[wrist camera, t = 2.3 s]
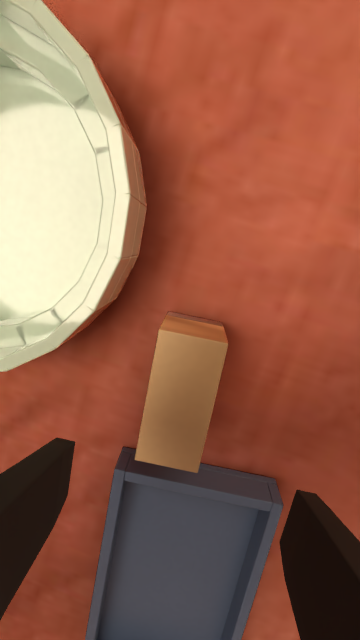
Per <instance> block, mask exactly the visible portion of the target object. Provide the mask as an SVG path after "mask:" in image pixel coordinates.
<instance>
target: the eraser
mask: <svg viewBox="0 0 360 640" xmlns="http://www.w3.org/2000/svg"><path fill="white" fill-rule="evenodd" d="M227 349H228V341H227V337H226V333H225V330H224V327H223V324H222V322H218V321H213V320H208V319H203V318H198V317H194V316H189V315H184V314H179V313H174V312H168V313H167V315H166V316H165V318H164V320H163V322H162V324H161V326H160V328H159V331H158V336H157V341H156V347H155V352H154V357H153V363H152V368H151V373H150V379H149V384H148V390H147V395H146V400H145V406H144V411H143V416H142V422H141V427H140V432H139V438H138V443H137V448H136V454H135V460H138V461H142V462H147V463H152V464H156V465H161V466H166V467H171V468H175V469H180V470H185V471H189V472H194V473H198V470H199V466H200V461H201V457H202V453H203V449H204V445H205V441H206V436H207V432H208V428H209V424H210V420H211V415H212V411H213V407H214V403H215V399H216V395H217V390H218V386H219V382H220V378H221V374H222V369H223V365H224V361H225V357H226V353H227Z"/></svg>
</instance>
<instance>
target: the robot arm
mask: <svg viewBox="0 0 360 640" xmlns="http://www.w3.org/2000/svg"><path fill="white" fill-rule="evenodd" d="M74 446H75V442H74V441H70V440H65V439H60V438H55V439H54V440H52V441H51V442H49V443H48V444H46V445H44V446H43V447H41V448H40V449H38V450H37V451H35V452H34V453H32V454H31V455H29V456H28V457H26V458H25V459H23V460H22V461H20V462H19V463H17V464H15V465H14V466H12V467H11V468H9V469H7V470H6V471H4V472H3V473H1V474H0V620H1V618H2V616H3V615H4V613H5V611H6V609H7V607H8V605H9V604H10V602H11V600H12V598H13V597H14V595H15V593H16V591H17V590H18V588H19V586H20V585H21V583H22V581H23V579H24V578H25V576H26V574H27V572H28V571H29V569H30V567H31V566H32V564H33V562H34V560H35V559H36V557H37V555H38V553H39V552H40V550H41V548H42V546H43V545H44V543H45V541H46V539H47V538H48V536H49V534H50V532H51V531H52V529H53V527H54V525H55V523H56V520H57V518H58V516H59V514H60V512H61V509H62V507H63V505H64V502H65V500H66V498H67V495H68V488H69V481H70V474H71V467H72V460H73V453H74ZM280 549H281V556H282V564H283V570H284V576H285V581H286V585H287V589H288V593H289V597H290V601H291V605H292V609H293V613H294V616H295V620H296V624H297V628H298V632H299V635H300V639H301V640H360V542H359V540H358V539H357V538H356V537H355V536H354V535H353V534H352V533H351V532H350V531H349V529H348V528H347V527H346V526H345V525H344V524H343V523H342V522H341V520H340V519H339V518H338V517H337V516H336V515H335V514H334V513H333V512H332V510H331V509H330V508H329V507H328V506H327V505H326V504H325V503H324V502H323V501H322V500H321V499H320V497H319V496H318V495H317V494H315V493H310V492H305V491H301V490H296V493H295V496H294V499H293V502H292V505H291V509H290V512H289V515H288V518H287V521H286V524H285V527H284V530H283V533H282V536H281V539H280Z"/></svg>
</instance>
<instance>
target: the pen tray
mask: <svg viewBox="0 0 360 640" xmlns="http://www.w3.org/2000/svg"><path fill="white" fill-rule="evenodd" d="M135 454H136V449H132V448H127V447H123V449H122V451H121V454H120V456H119V459H118V462H117V464H116V467H115V469H114V475H113V481H112V487H111V492H110V498H109V504H108V510H107V516H106V521H105V527H104V533H103V539H102V544H101V550H100V556H99V562H98V568H97V573H96V579H95V585H94V591H93V597H92V602H91V608H90V614H89V620H88V626H87V631H86V637H85V640H241V638H242V635H243V632H244V629H245V626H246V623H247V619H248V616H249V613H250V610H251V607H252V604H253V600H254V597H255V594H256V591H257V588H258V585H259V581H260V578H261V575H262V572H263V569H264V566H265V562H266V559H267V556H268V553H269V550H270V547H271V543H272V540H273V537H274V534H275V531H276V527H277V524H278V521H279V518H280V515H281V512H282V508H283V502H282V499H281V496H280V493H279V490H278V486H277V483H276V480H275V479H274V478H269V477H264V476H260V475H255V474H250V473H245V472H241V471H236V470H231V469H226V468H222V467H217V466H212V465H208V464H203V463H200V466H199V470H198V473H194V472H189V471H185V470H180V469H175V468H171V467H166V466H161V465H156V464H152V463H147V462H142V461H138V460H135Z"/></svg>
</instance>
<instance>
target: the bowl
mask: <svg viewBox="0 0 360 640" xmlns="http://www.w3.org/2000/svg"><path fill="white" fill-rule="evenodd" d="M146 206H147V202H146V195H145V188H144V180H143V173H142V165H141V158H140V153H139V150H138V148H137V145H136V143H135V141H134V139H133V137H132V134H131V132H130V130H129V128H128V125H127V123H126V121H125V119H124V117H123V114H122V112H121V110H120V108H119V106H118V103H117V102H116V100H115V98H114V96H113V95H112V93H111V91H110V90H109V88H108V86H107V84H106V83H105V81H104V79H103V78H102V76H101V74H100V72H99V71H98V69H97V67H96V66H95V64H94V62H93V61H92V59H91V57H90V56H89V54H88V53H87V52H86V51H85V49H84V48H83V47H82V46H81V45H80V44H79V43H78V41H77V40H76V39H75V38H74V37H73V36H72V34H71V33H70V32H69V31H68V30H67V29H66V28H65V26H64V25H63V24H62V23H61V22H60V21H59V20H58V18H57V17H56V16H55V15H54V14H53V13H52V11H51V10H50V9H49V8H48V7H47V6H46V5H45V3H44V2H43V1H42V0H0V372H4V371H8V370H11V369H14V368H16V367H18V366H20V365H22V364H25V363H27V362H29V361H31V360H33V359H36V358H38V357H40V356H42V355H44V354H47V353H49V352H51V351H53V350H55V349H56V348H58V347H59V346H61V345H62V344H64V343H65V342H66V341H68V340H69V339H71V338H72V337H73V336H75V335H76V334H78V333H79V332H80V331H82V330H83V329H85V328H86V327H87V326H88V325H89V324H90V323H91V322H92V321H93V320H94V319H96V318H97V317H98V316H99V315H100V314H101V313H102V312H103V311H104V310H105V309H106V308H107V307H108V306H109V305H110V304H111V303H112V302H113V301H114V300H115V299H116V298H117V297H118V295H119V294H120V292H121V290H122V288H123V286H124V284H125V282H126V280H127V278H128V276H129V274H130V272H131V270H132V268H133V266H134V264H135V262H136V261H137V259H138V255H139V252H140V246H141V240H142V234H143V227H144V221H145V215H146V209H147V207H146Z"/></svg>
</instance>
